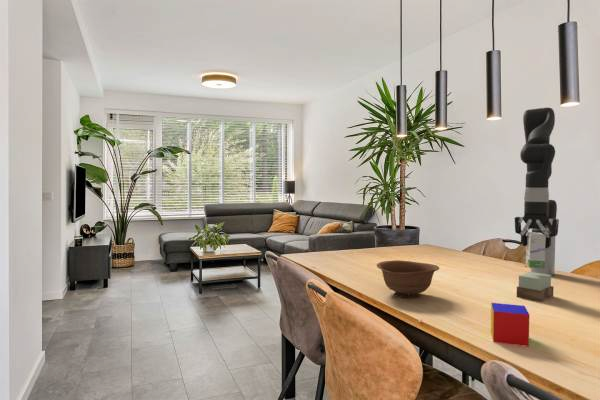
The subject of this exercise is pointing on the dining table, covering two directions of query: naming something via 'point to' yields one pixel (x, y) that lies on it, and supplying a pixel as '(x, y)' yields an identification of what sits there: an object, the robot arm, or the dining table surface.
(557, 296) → the dining table surface
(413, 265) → the bowl
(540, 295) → the walnut slab
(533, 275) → the sage block
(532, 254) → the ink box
